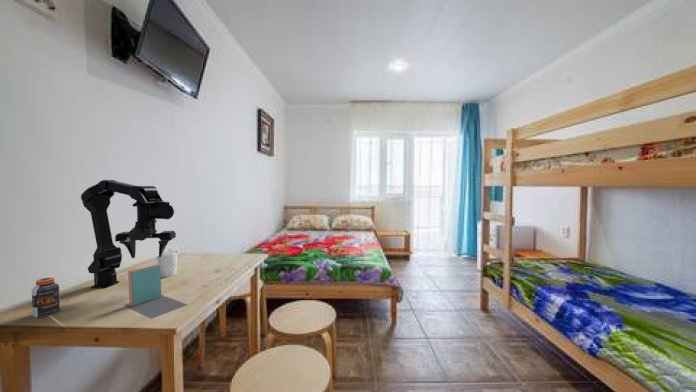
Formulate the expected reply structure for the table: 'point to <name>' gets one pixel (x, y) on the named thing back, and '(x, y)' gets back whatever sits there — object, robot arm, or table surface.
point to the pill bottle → (45, 297)
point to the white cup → (168, 263)
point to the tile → (144, 284)
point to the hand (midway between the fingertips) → (147, 257)
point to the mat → (157, 306)
